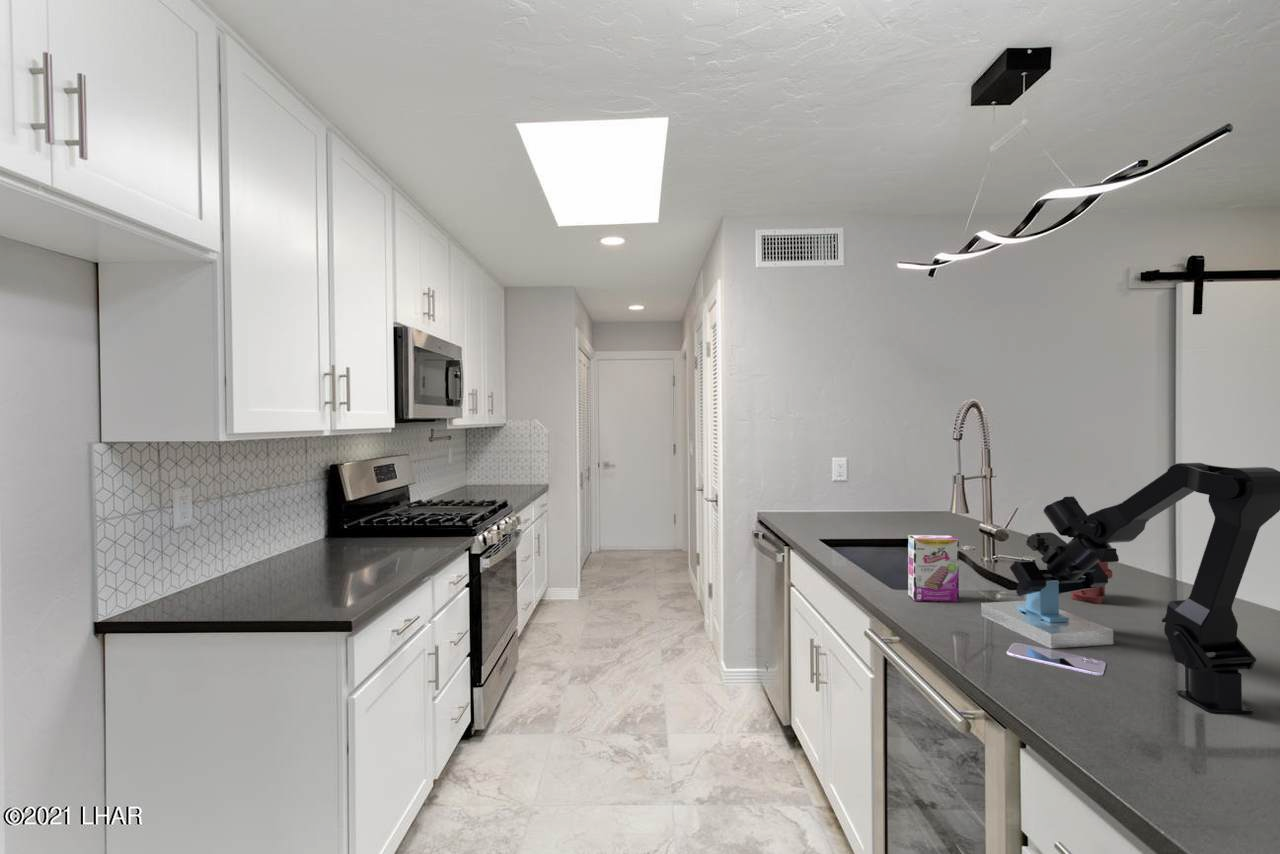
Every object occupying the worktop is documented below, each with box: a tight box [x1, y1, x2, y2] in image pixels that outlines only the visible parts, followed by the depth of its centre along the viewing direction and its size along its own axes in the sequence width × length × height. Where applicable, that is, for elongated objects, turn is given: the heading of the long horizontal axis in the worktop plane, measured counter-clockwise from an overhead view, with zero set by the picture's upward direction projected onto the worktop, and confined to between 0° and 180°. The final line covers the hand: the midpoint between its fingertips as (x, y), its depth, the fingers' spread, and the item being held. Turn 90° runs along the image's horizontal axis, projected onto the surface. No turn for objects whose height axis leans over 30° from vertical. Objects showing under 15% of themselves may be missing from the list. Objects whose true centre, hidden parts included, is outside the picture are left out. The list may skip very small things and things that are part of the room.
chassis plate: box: [980, 600, 1114, 650], centre depth 126 cm, size 20×14×3 cm
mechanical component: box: [1070, 560, 1113, 605], centre depth 146 cm, size 12×10×10 cm
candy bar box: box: [907, 534, 960, 603], centre depth 148 cm, size 11×5×16 cm, turn 84°
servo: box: [1017, 581, 1069, 623], centre depth 126 cm, size 9×4×12 cm, turn 7°
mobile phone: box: [1006, 642, 1107, 677], centre depth 111 cm, size 8×1×15 cm
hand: (1037, 593), depth 128 cm, fingers open, 9 cm apart
